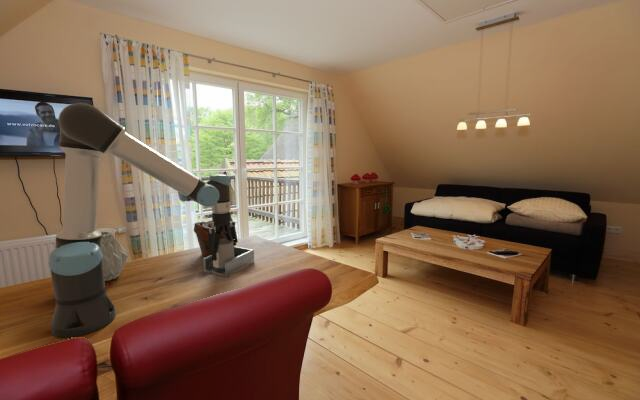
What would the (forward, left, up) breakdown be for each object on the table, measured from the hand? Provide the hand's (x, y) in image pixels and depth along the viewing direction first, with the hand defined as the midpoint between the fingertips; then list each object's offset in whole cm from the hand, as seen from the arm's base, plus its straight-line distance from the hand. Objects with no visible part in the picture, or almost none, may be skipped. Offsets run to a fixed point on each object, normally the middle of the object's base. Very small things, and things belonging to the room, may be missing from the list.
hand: (224, 263), depth 128 cm
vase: (-26, +37, -3) cm, 46 cm away
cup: (0, 0, -1) cm, 1 cm away
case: (+14, +18, -3) cm, 23 cm away
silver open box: (+4, 0, -3) cm, 5 cm away
